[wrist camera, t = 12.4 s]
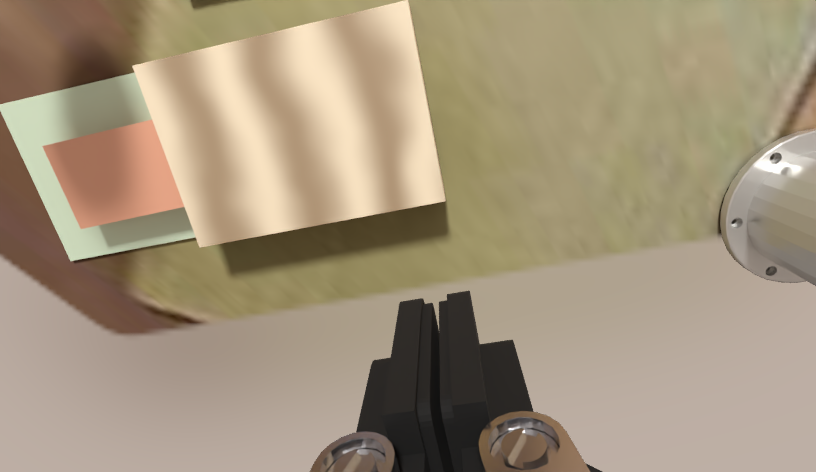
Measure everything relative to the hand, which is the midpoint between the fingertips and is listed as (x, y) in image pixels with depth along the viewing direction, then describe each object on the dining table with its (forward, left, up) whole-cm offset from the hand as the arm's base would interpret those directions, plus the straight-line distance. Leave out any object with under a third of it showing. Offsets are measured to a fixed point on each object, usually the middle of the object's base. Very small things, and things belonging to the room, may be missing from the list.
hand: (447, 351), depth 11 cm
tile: (+25, -4, -29) cm, 38 cm away
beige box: (+10, -4, -29) cm, 31 cm away
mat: (+27, -4, -29) cm, 40 cm away
